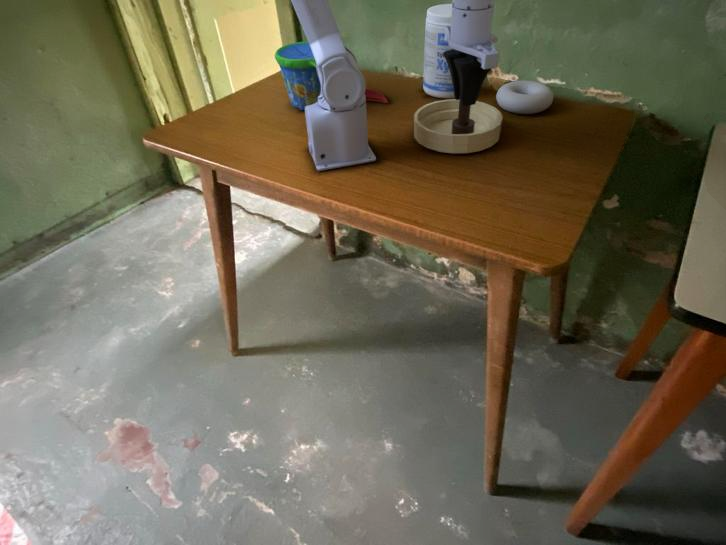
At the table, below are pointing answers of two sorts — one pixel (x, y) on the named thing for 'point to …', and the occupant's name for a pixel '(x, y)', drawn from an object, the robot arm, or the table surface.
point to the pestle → (463, 121)
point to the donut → (524, 97)
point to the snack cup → (299, 73)
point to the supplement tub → (437, 53)
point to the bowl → (437, 127)
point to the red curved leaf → (374, 96)
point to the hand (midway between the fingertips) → (465, 101)
